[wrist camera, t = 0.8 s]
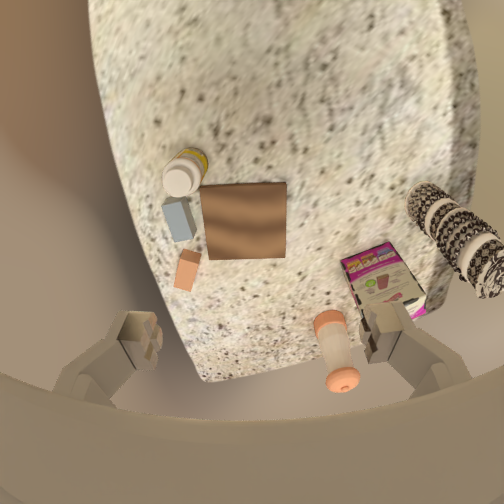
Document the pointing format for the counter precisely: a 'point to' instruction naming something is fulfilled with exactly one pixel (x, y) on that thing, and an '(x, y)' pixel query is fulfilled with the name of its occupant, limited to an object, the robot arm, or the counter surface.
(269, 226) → the board
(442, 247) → the decorative candle
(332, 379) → the pepper shaker
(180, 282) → the brick terracotta
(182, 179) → the supplement bottle
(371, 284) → the candy bar box
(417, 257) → the counter surface
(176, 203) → the brick blue
